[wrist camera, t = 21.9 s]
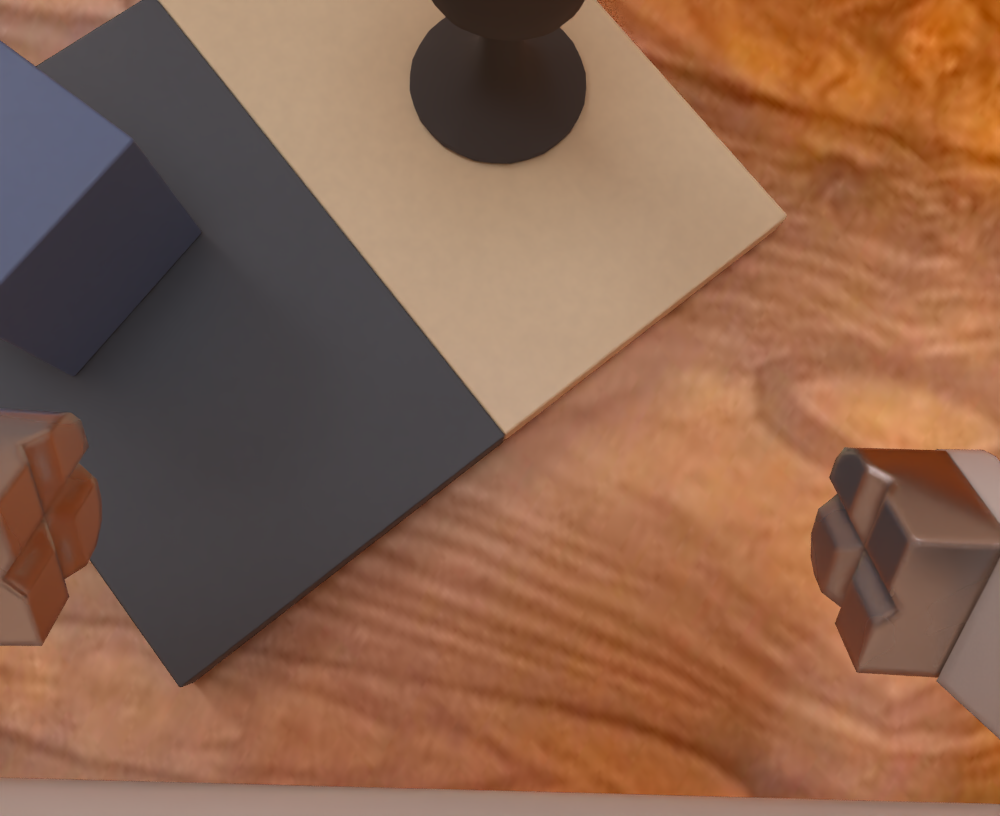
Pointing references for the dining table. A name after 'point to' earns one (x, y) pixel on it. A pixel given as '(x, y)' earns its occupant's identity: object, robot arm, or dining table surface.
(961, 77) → the dining table surface
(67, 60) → the board
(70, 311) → the blue block
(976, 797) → the dining table surface
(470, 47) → the sundae
